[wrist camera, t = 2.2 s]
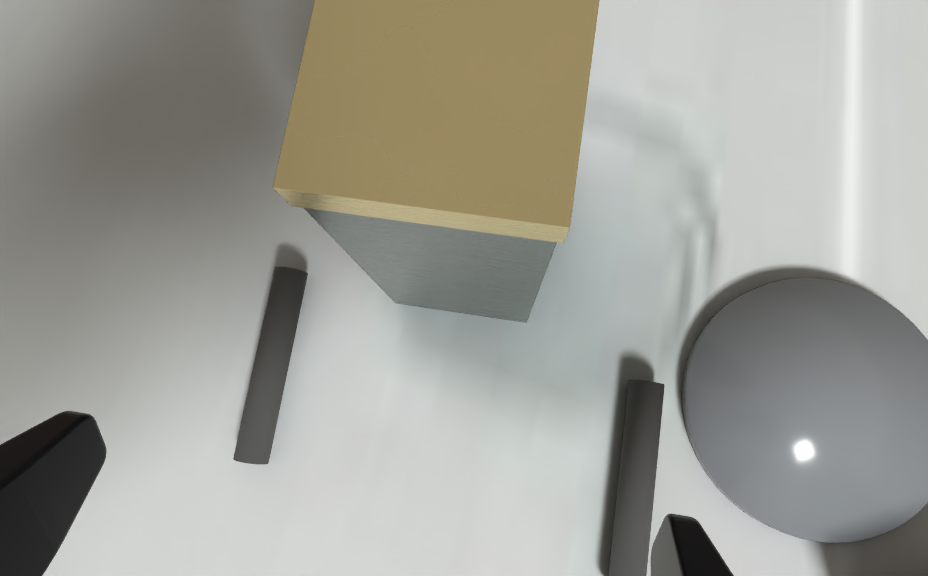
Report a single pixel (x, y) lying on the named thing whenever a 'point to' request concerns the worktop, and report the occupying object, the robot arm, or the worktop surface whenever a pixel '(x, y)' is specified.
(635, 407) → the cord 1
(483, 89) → the charcoal tea tin
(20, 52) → the worktop surface
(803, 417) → the gray disc
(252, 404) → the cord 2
